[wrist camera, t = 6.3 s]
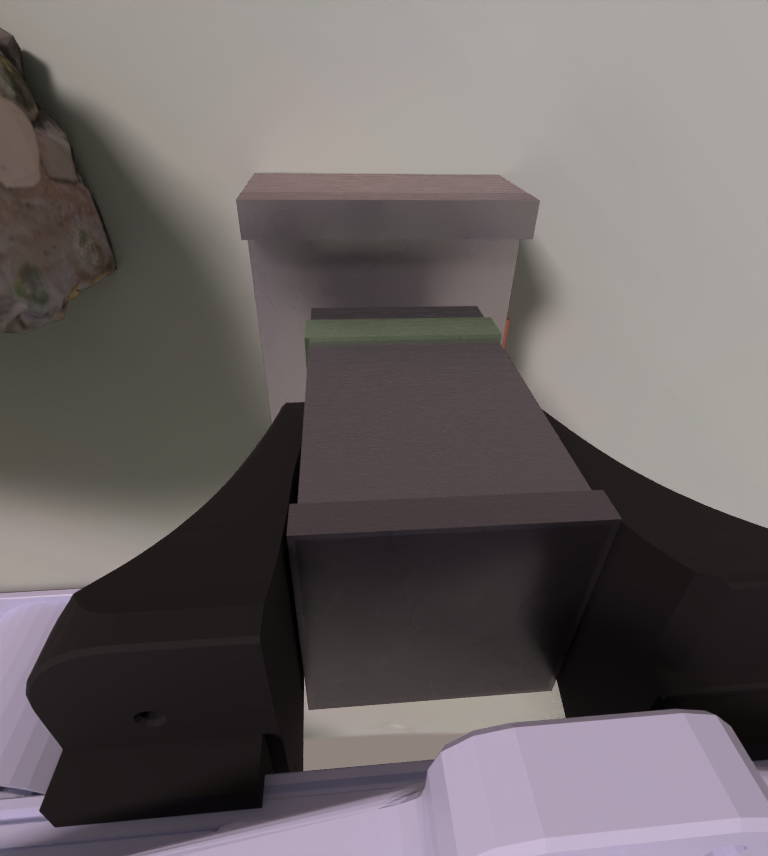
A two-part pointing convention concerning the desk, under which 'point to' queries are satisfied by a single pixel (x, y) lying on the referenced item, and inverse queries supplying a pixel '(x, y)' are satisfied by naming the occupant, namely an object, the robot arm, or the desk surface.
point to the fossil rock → (41, 210)
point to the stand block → (374, 252)
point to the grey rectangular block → (433, 514)
